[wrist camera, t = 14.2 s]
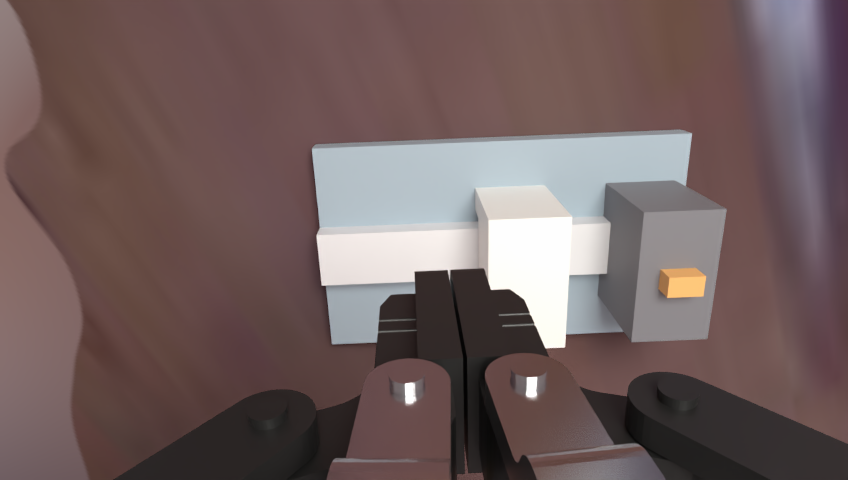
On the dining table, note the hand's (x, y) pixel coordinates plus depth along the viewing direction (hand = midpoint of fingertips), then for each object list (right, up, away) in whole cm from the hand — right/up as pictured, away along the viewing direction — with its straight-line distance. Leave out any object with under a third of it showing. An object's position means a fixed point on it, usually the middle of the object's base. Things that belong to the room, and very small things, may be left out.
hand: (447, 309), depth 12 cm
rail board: (+5, +2, +27) cm, 28 cm away
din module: (+5, +1, +26) cm, 27 cm away
